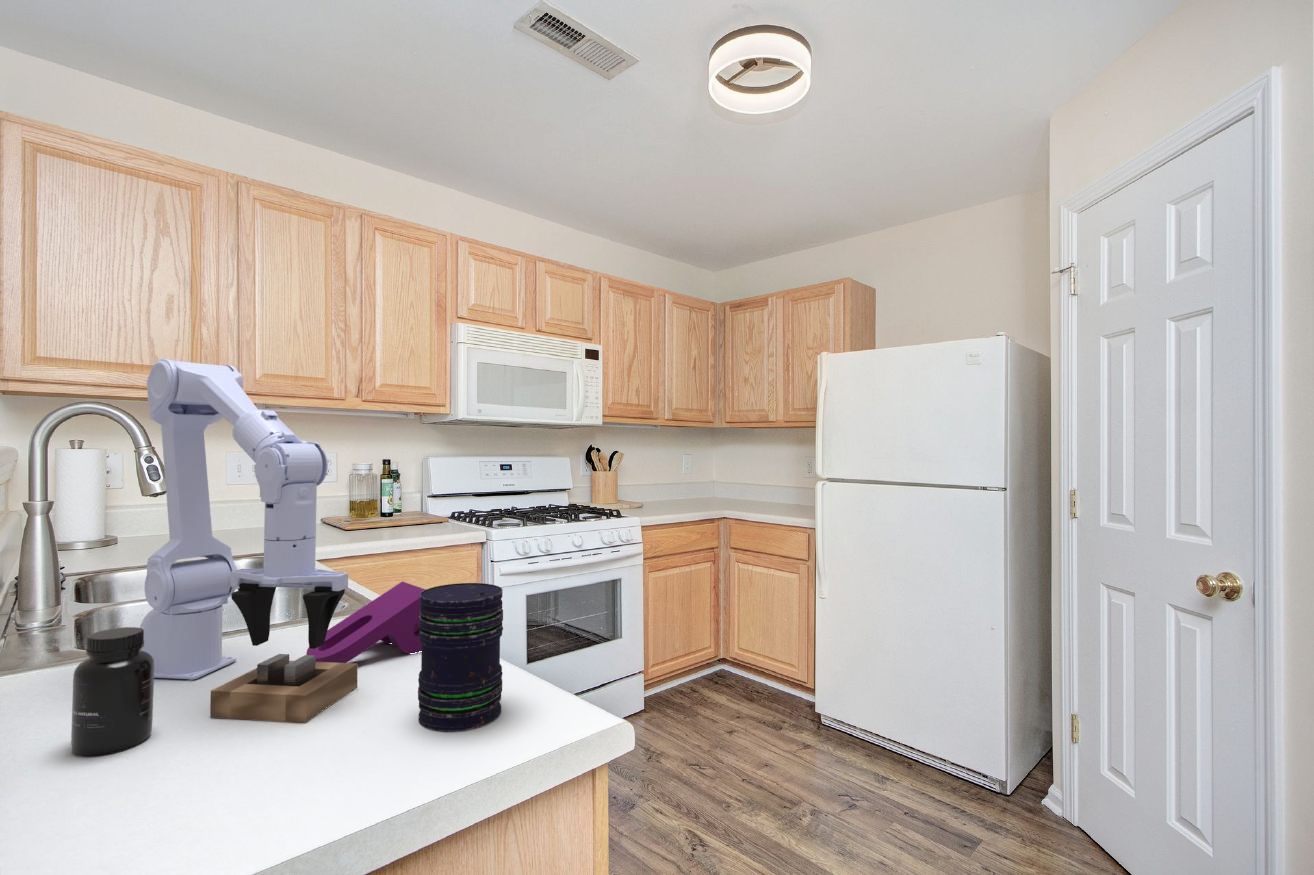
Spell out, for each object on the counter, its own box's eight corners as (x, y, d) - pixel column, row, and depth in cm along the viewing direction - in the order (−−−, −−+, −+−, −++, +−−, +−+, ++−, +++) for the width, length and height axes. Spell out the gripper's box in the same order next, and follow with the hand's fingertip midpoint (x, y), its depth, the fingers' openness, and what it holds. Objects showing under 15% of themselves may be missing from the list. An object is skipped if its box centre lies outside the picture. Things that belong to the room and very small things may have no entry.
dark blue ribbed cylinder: (398, 724, 76) (400, 596, 76) (452, 693, 85) (453, 580, 85) (470, 738, 73) (471, 605, 73) (517, 705, 82) (519, 586, 82)
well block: (210, 717, 77) (210, 690, 77) (273, 683, 88) (273, 659, 88) (305, 722, 76) (305, 695, 76) (357, 687, 87) (357, 663, 87)
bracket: (256, 709, 80) (257, 664, 80) (278, 696, 84) (279, 653, 84) (294, 711, 80) (295, 666, 80) (315, 698, 84) (315, 655, 84)
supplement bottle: (61, 763, 66) (62, 645, 66) (82, 736, 72) (84, 628, 72) (145, 749, 69) (146, 637, 69) (159, 724, 75) (160, 621, 75)
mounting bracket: (346, 711, 94) (450, 633, 105) (320, 665, 91) (429, 590, 103) (322, 693, 100) (422, 622, 112) (297, 649, 97) (402, 581, 109)
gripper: (212, 540, 79) (210, 652, 79) (325, 544, 78) (323, 658, 78) (253, 532, 86) (252, 634, 86) (358, 535, 85) (356, 639, 85)
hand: (288, 644), depth 82 cm, fingers open, 7 cm apart
